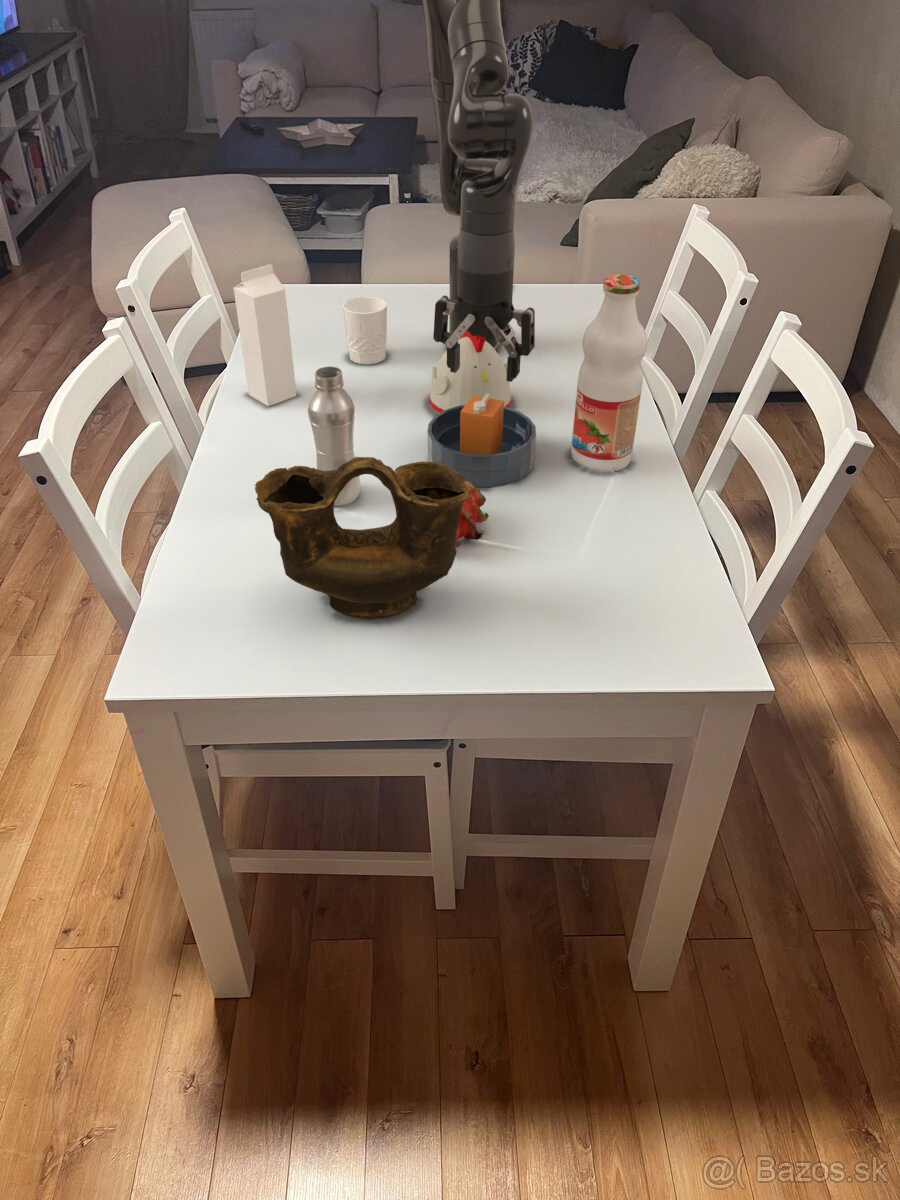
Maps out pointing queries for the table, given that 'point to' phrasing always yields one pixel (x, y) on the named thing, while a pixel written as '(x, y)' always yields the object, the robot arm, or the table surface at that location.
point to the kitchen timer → (470, 376)
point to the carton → (482, 426)
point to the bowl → (478, 466)
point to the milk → (265, 336)
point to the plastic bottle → (333, 427)
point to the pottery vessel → (366, 533)
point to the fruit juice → (610, 380)
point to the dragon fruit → (471, 515)
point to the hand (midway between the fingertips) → (482, 374)
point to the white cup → (366, 329)
